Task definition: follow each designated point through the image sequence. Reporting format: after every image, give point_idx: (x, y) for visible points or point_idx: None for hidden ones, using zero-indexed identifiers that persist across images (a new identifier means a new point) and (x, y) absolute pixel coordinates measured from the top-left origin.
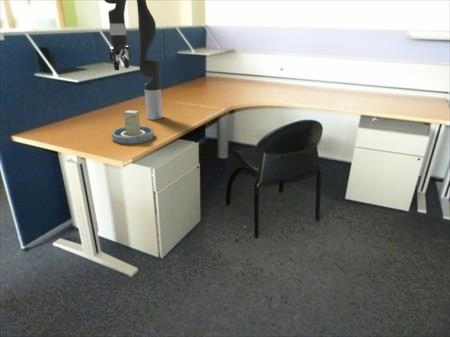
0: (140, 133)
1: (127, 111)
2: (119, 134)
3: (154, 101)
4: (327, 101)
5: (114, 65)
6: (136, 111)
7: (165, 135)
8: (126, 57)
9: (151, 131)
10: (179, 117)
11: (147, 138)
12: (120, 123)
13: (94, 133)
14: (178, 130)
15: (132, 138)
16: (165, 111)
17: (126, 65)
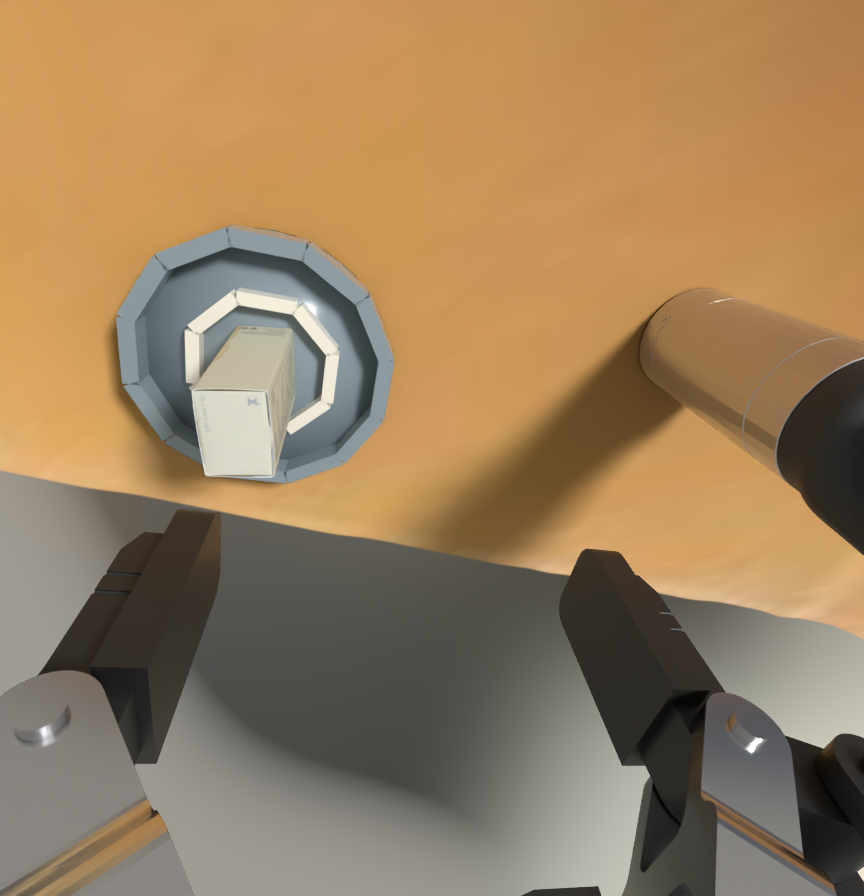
0: (310, 392)
1: (224, 406)
2: (250, 270)
3: (712, 415)
4: None
5: (91, 616)
6: (255, 466)
7: (351, 501)
8: (633, 861)
9: (294, 472)
10: (680, 474)
11: None
12: (555, 134)
13: (263, 10)
14: (442, 531)
15: (146, 414)
16: None
17: (590, 618)
